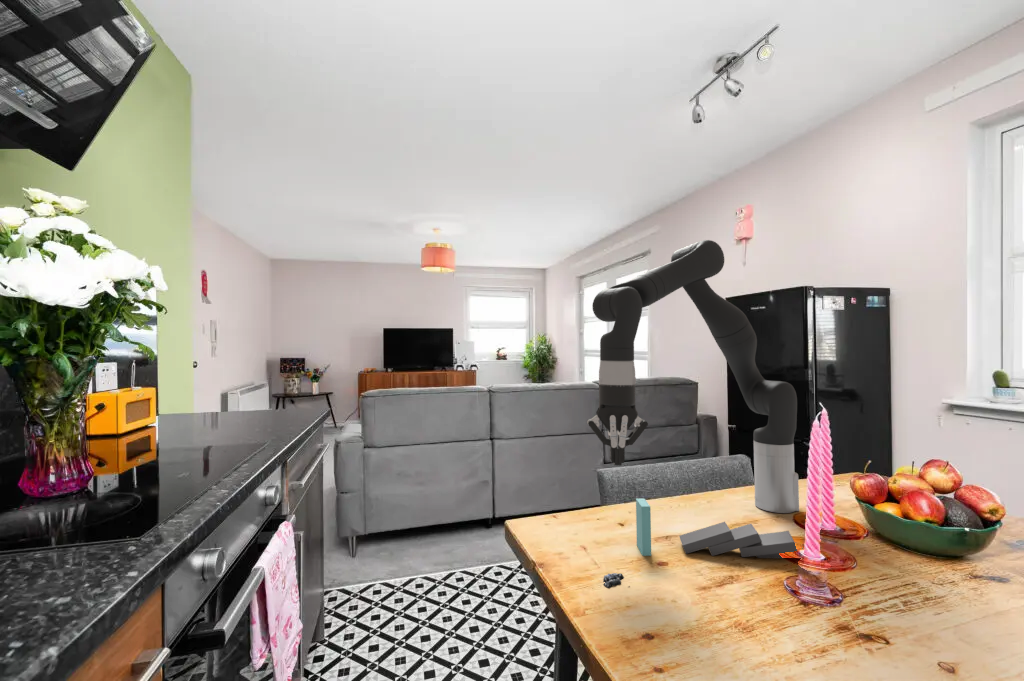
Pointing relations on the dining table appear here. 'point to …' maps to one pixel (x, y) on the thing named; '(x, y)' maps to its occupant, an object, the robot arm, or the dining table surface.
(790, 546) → the domino
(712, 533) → the domino
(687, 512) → the dining table surface
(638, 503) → the end domino
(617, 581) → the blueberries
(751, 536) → the domino
